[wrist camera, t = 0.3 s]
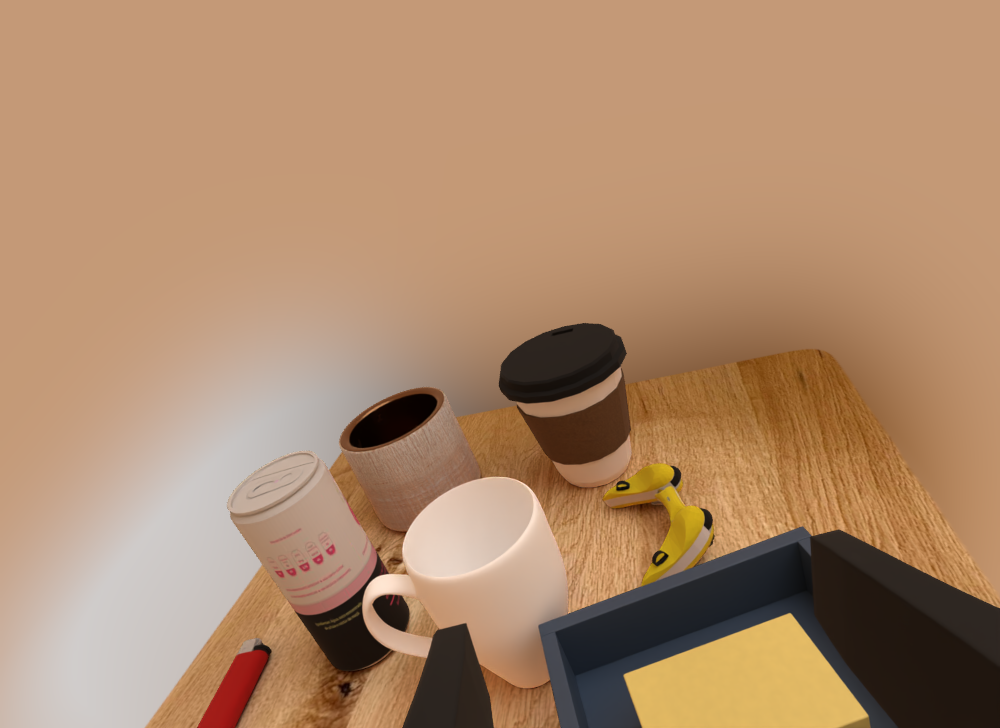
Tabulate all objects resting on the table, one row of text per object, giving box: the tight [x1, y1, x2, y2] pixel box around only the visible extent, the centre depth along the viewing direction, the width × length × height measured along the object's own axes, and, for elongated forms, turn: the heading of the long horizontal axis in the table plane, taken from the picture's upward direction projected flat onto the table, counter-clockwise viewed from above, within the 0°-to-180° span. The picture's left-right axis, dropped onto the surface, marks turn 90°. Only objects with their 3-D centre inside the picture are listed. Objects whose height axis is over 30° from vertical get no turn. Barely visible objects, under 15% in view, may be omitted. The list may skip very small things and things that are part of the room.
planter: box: [339, 387, 481, 532], centre depth 55 cm, size 11×11×10 cm
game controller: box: [602, 463, 714, 586], centre depth 41 cm, size 10×6×4 cm, turn 6°
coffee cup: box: [499, 323, 632, 488], centre depth 50 cm, size 11×11×12 cm
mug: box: [362, 477, 568, 688], centre depth 34 cm, size 12×8×11 cm
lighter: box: [197, 638, 271, 728], centre depth 43 cm, size 3×1×8 cm
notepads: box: [624, 613, 871, 728], centre depth 24 cm, size 5×8×4 cm, turn 97°
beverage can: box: [227, 451, 409, 671], centre depth 41 cm, size 7×6×15 cm
